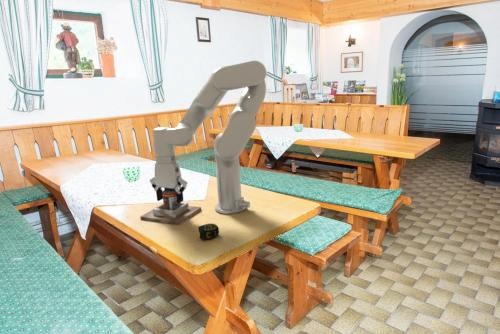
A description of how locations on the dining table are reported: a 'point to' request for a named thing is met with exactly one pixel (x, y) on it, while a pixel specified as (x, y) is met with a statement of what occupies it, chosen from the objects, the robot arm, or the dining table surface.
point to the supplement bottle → (170, 199)
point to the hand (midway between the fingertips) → (170, 200)
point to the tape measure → (208, 231)
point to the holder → (171, 214)
